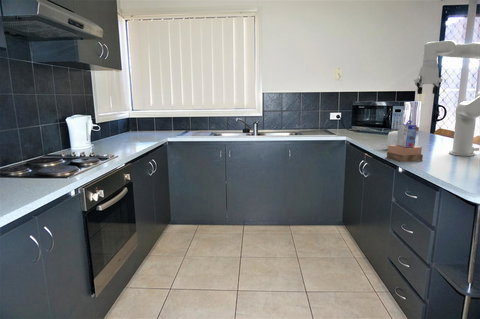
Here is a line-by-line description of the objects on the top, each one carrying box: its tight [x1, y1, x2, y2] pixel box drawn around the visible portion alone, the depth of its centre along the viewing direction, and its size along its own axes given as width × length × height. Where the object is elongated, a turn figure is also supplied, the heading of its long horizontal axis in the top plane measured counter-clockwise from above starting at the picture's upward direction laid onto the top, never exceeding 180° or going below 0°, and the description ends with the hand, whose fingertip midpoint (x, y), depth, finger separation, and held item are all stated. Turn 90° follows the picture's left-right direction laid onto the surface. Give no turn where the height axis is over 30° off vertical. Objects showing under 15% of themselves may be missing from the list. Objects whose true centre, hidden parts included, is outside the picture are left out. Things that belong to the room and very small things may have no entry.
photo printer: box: [386, 130, 398, 150], centre depth 208 cm, size 10×4×12 cm, turn 84°
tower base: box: [386, 151, 423, 163], centre depth 178 cm, size 13×13×4 cm
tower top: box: [387, 145, 423, 156], centre depth 177 cm, size 12×12×4 cm
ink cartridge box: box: [396, 120, 418, 147], centre depth 175 cm, size 10×6×14 cm, turn 4°
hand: (427, 93), depth 187 cm, fingers open, 9 cm apart
